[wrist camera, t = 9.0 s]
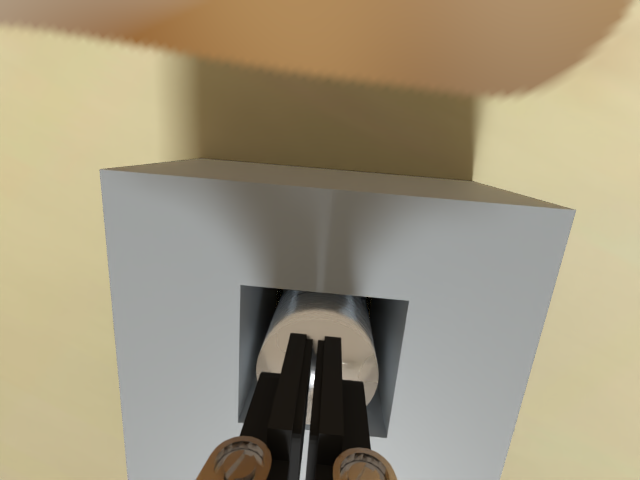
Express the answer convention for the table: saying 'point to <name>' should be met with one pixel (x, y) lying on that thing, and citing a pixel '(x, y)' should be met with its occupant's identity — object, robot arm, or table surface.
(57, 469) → the table surface
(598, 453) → the table surface
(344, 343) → the steel peg
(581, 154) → the table surface
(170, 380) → the socket board
